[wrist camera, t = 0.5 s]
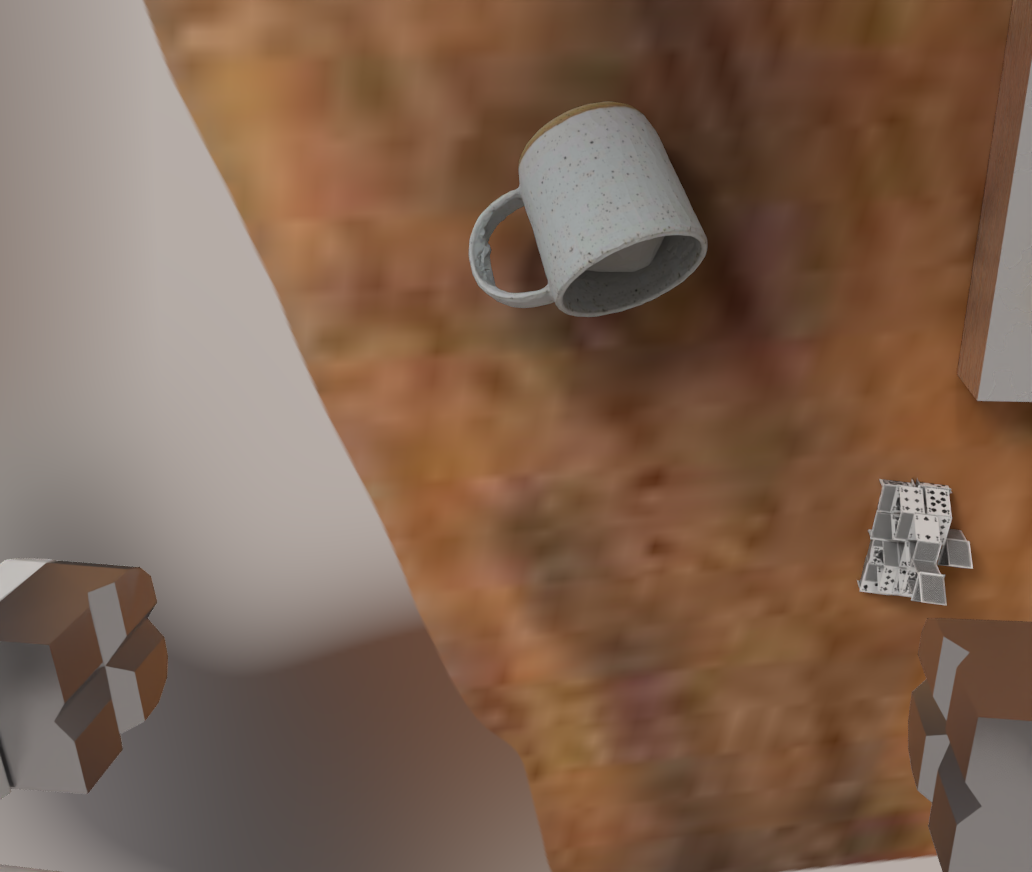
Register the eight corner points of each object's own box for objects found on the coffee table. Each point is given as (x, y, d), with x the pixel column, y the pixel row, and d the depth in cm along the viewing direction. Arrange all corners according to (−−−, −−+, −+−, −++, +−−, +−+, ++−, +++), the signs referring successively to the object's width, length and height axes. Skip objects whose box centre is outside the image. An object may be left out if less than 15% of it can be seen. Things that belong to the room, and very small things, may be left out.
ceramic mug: (636, 156, 52) (658, 66, 44) (693, 290, 50) (726, 220, 42) (448, 214, 51) (438, 132, 43) (499, 353, 49) (497, 293, 41)
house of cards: (996, 623, 58) (1038, 705, 51) (847, 602, 59) (869, 680, 52) (1038, 490, 54) (1091, 559, 47) (879, 470, 55) (907, 535, 48)
